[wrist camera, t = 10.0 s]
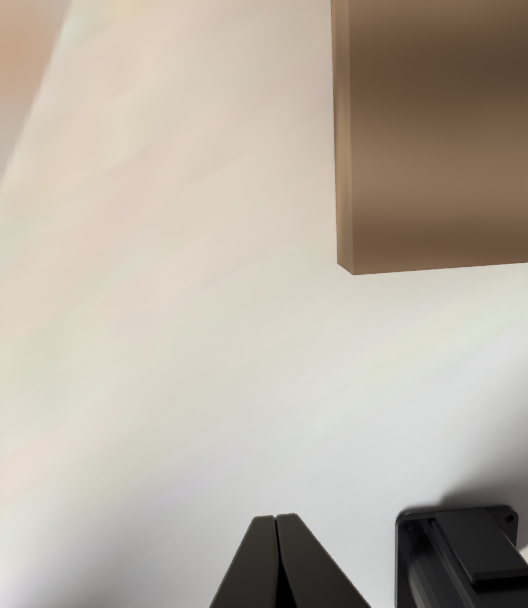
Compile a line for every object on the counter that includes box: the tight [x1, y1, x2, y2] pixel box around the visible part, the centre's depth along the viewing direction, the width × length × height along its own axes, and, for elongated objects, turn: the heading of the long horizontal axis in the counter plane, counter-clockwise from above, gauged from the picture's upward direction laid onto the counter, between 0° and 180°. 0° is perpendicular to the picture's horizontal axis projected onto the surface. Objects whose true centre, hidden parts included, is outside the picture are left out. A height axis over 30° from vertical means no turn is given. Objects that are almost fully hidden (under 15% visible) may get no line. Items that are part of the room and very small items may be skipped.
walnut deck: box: [331, 0, 528, 275], centre depth 18 cm, size 14×12×3 cm
